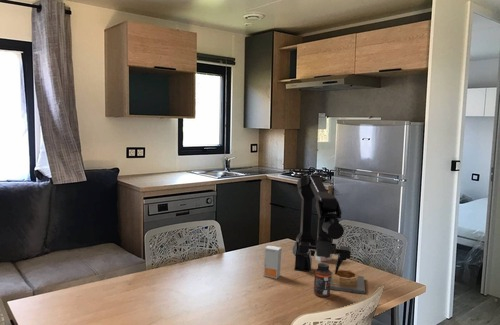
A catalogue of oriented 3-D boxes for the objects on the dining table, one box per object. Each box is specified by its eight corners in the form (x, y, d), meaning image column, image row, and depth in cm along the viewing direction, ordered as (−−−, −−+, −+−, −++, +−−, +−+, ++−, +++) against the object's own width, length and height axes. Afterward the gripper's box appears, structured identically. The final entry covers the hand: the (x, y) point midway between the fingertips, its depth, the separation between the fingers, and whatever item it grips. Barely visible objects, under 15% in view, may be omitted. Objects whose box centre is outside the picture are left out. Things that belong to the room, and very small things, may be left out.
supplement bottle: (329, 298, 145) (331, 268, 144) (313, 296, 146) (315, 266, 145) (329, 291, 151) (331, 262, 150) (313, 289, 152) (315, 261, 151)
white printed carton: (315, 259, 187) (316, 238, 186) (326, 257, 190) (327, 237, 189) (320, 262, 183) (321, 240, 182) (331, 260, 187) (333, 239, 186)
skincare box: (263, 276, 163) (264, 247, 162) (266, 272, 167) (267, 245, 166) (277, 279, 161) (278, 250, 160) (280, 275, 165) (281, 247, 164)
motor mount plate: (324, 288, 154) (324, 278, 153) (326, 274, 168) (327, 265, 168) (364, 294, 150) (365, 283, 150) (363, 279, 165) (364, 269, 164)
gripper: (297, 234, 141) (294, 277, 142) (351, 240, 136) (348, 284, 138) (300, 226, 151) (298, 266, 153) (351, 231, 147) (348, 272, 148)
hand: (322, 272), depth 148 cm, fingers open, 9 cm apart
